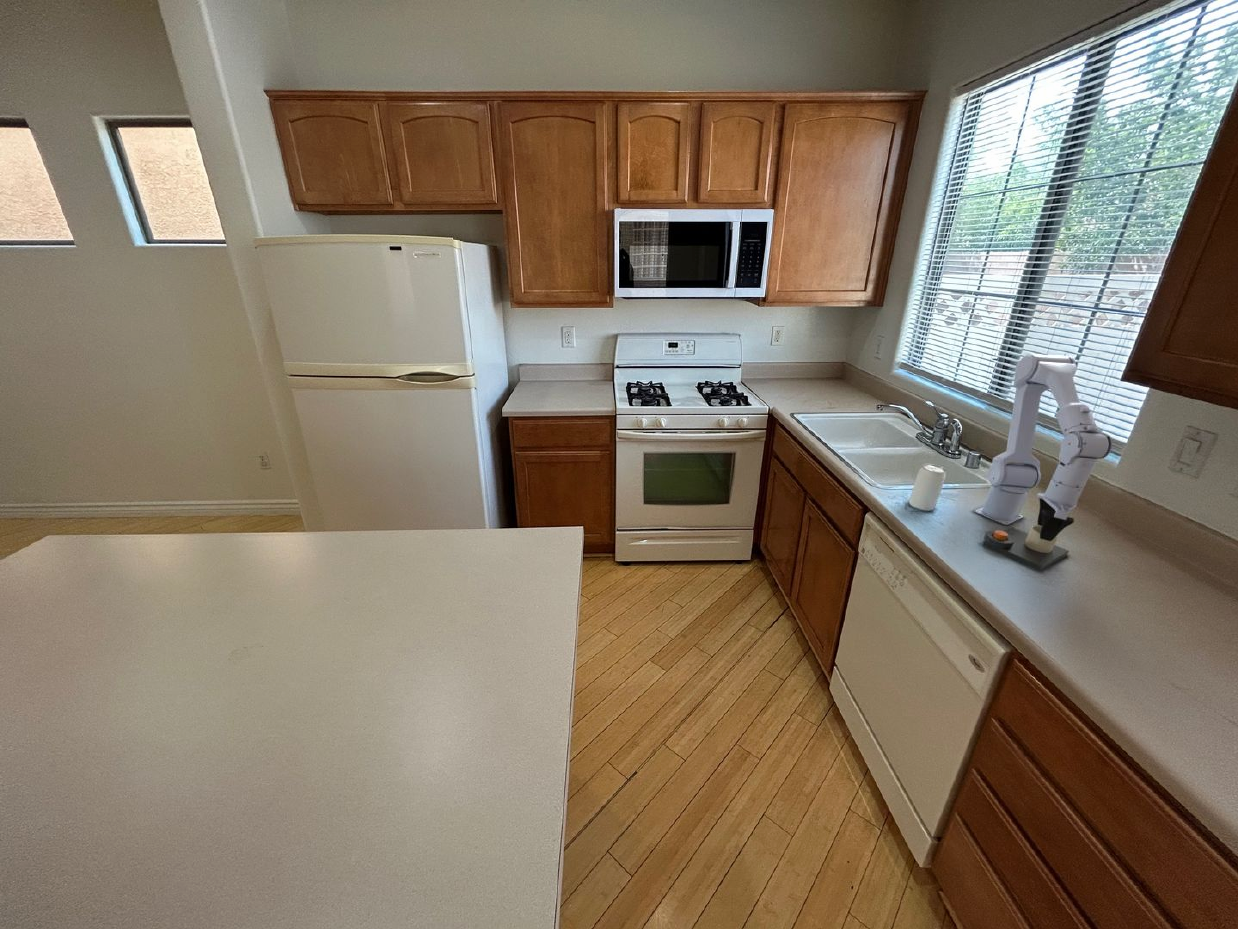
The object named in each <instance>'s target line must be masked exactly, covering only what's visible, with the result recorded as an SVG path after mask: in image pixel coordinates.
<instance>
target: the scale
mask: <svg viewBox="0 0 1238 929" xmlns="http://www.w3.org/2000/svg"><path fill="white" fill-rule="evenodd" d="M995 531H996V530H989V531H986V532H985V534H984V537H983V539H984V541H983V543H982V546H984V547H986V548H988V549H991V550H993V551H995V552H997V553H999V554H1001V555H1003V556H1006V557H1008V558H1010V559H1012V560H1014V561H1016V562H1018V563H1020V564H1023V565H1024V566H1027V567H1029V568H1032V569H1033V570H1036V571H1038V572H1041V571H1043V570H1045V569H1046V568H1049V566H1051V565H1054V564H1056V562H1059V561H1060V560H1061V559H1063V558H1065V557H1067V556H1068V554H1069V550H1068V549H1065V548H1063V547H1061V546H1059V545H1056V544H1055V545H1054V547H1053V549H1052V551H1051V552H1050V553H1043V552H1038V551H1035V550H1033V549H1031V548H1029V547H1027V546H1026V545H1025V544H1024V542H1025V539H1026V537H1027V535H1028V533H1029V532H1026V531H1022V530H1020V529H1018V528H1016V527H1013V526H1012V527H1010V528H1008V529H1006V530H1003V531H1004V532H1006V533H1007V534H1008V537H1007V539H1006V541H1003V540H999V539H996V538H994V537H993V535H994V532H995Z"/></svg>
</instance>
